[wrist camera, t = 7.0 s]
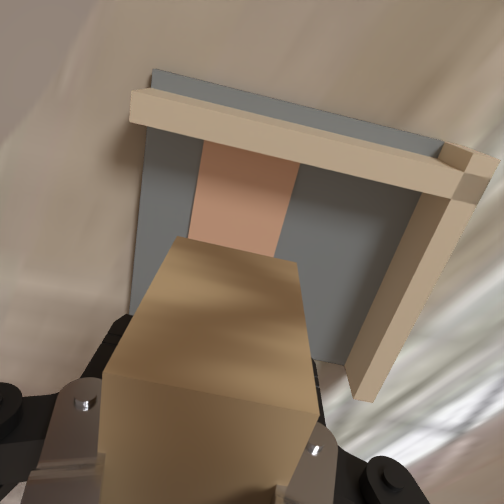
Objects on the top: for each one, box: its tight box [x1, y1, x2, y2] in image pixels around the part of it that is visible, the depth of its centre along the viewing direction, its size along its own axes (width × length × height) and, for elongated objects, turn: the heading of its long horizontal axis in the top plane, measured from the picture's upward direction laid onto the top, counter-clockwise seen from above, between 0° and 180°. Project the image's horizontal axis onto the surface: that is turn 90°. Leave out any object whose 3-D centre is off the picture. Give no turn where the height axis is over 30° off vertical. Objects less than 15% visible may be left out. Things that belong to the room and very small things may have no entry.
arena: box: [129, 69, 501, 403], centre depth 24 cm, size 18×19×4 cm
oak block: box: [97, 236, 320, 504], centre depth 11 cm, size 4×7×6 cm, turn 167°
